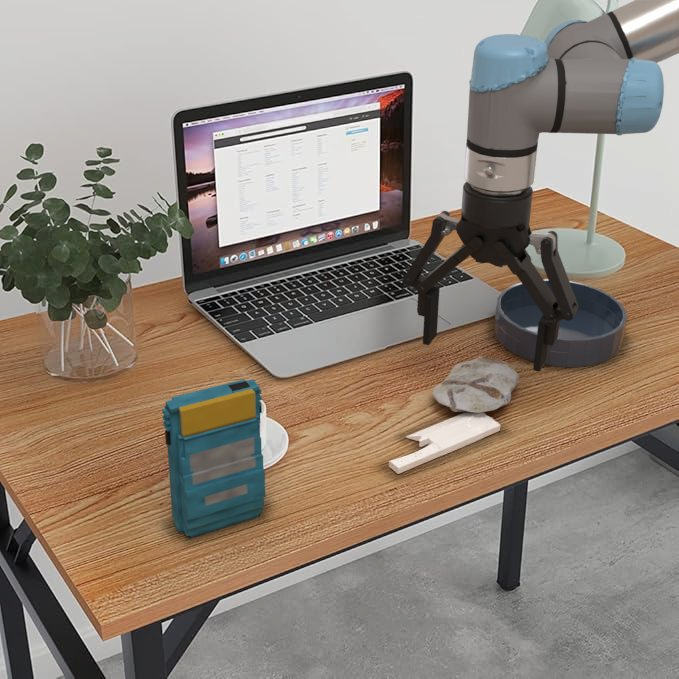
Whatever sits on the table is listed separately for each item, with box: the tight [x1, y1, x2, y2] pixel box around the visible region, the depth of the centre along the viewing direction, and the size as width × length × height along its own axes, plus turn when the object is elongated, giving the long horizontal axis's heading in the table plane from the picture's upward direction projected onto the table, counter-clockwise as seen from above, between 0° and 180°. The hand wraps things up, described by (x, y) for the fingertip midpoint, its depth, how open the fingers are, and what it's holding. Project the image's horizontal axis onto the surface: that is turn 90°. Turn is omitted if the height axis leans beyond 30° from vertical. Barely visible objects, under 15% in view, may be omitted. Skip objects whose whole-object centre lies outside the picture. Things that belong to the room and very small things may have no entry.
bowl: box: [493, 278, 628, 368], centre depth 143 cm, size 17×17×4 cm
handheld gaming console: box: [161, 378, 266, 539], centre depth 105 cm, size 10×4×15 cm, turn 118°
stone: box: [431, 355, 520, 413], centre depth 128 cm, size 12×9×3 cm
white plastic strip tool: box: [388, 411, 502, 475], centre depth 121 cm, size 5×15×1 cm, turn 125°
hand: (483, 352), depth 126 cm, fingers open, 13 cm apart
